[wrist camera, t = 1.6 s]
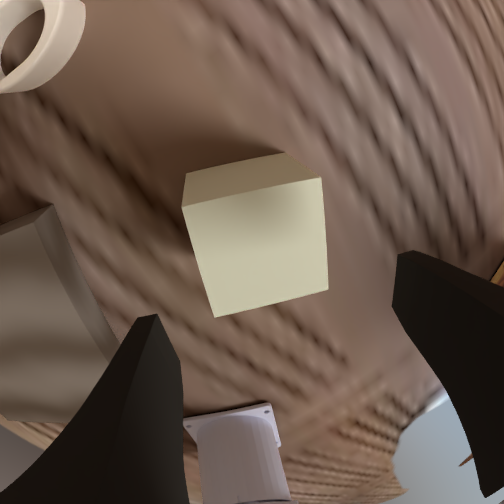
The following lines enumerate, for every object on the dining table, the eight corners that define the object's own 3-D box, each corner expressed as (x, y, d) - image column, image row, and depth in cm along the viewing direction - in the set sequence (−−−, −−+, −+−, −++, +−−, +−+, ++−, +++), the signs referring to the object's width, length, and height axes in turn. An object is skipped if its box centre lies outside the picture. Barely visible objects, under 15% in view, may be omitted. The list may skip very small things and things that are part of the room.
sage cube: (296, 239, 18) (328, 289, 13) (209, 259, 17) (214, 317, 13) (284, 152, 15) (320, 177, 11) (186, 172, 15) (181, 207, 10)
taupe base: (151, 393, 22) (150, 418, 20) (13, 401, 21) (7, 420, 19) (53, 204, 14) (33, 222, 12) (-80, 265, 13) (-96, 282, 11)
